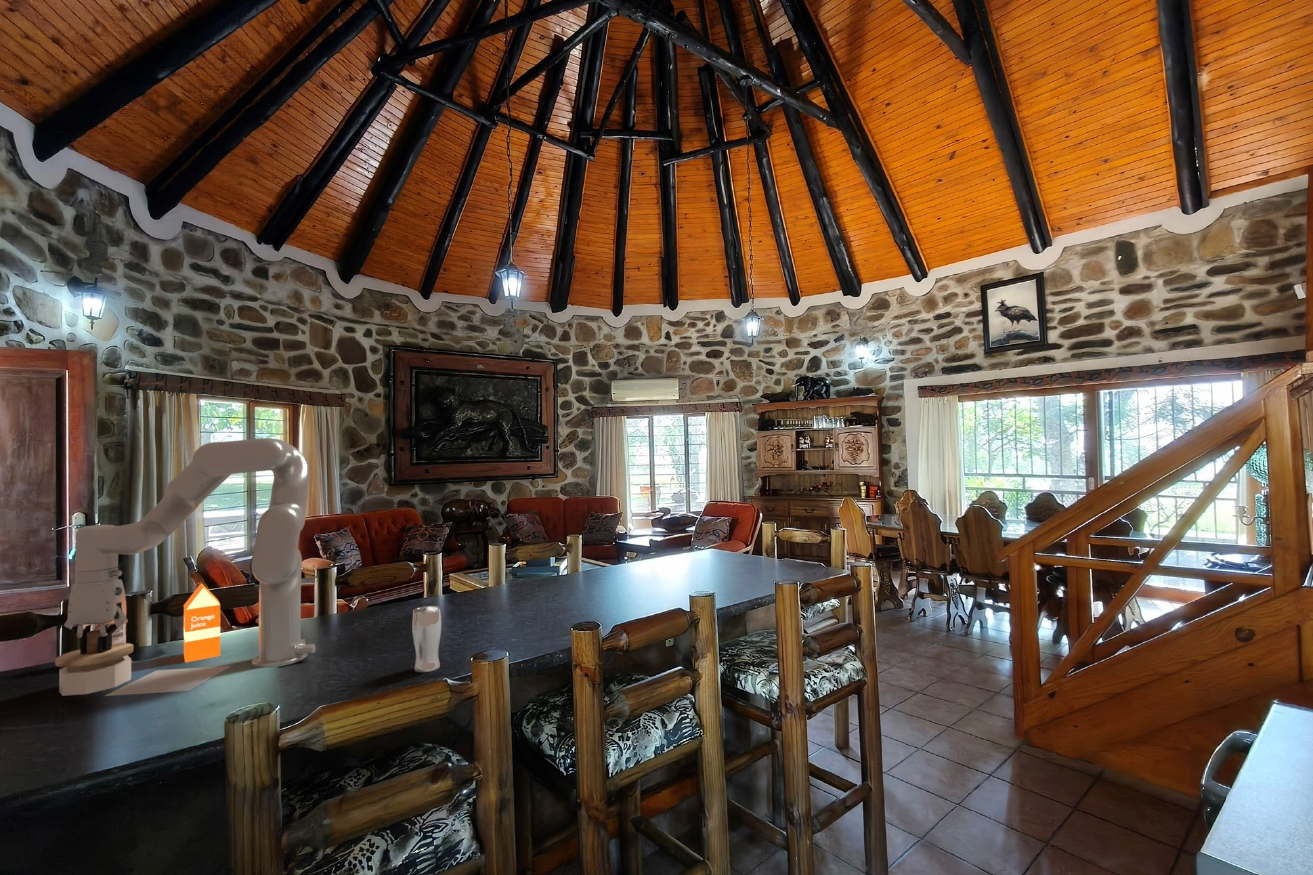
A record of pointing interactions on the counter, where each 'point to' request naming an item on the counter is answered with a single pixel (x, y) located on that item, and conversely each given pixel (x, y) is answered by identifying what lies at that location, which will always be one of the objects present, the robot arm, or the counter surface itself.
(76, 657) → the lid
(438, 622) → the beer glass
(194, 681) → the mat
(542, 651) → the counter surface
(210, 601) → the orange juice
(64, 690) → the bowl
